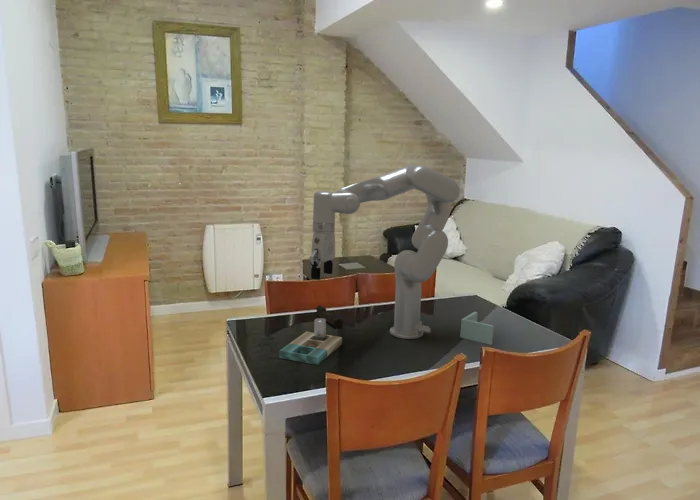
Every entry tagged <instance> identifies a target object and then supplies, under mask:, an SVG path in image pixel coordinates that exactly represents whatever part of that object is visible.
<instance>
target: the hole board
mask: <svg viewBox="0 0 700 500" xmlns="http://www.w3.org/2000/svg"><path fill="white" fill-rule="evenodd" d="M342 345H343V337H341V336H338V335H337V336H336V335H330V334H326V340H325V341H319V340H314V331H313V332H311V331H305V332H304V333H303V334H301V335H300V336H298V337H296V338H295V339H294V340H292V341H291V342H290V343H288V344H286V345H284V347H283V348H281V349H280V350H278V355H279V356H278V357H279V359H282V360H283V359H284V360H290V361H295V362H298V363H299V362H301V363H306V364H310V365H311V364H312V365H316V366H318V365H320V364H321V363H322V362H324V360H325V359H327V358H328V357H329V356H330V355H332V353H334V351H336V350H337V349H339V348H340V346H342Z"/></svg>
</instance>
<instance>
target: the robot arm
mask: <svg viewBox="0 0 700 500" xmlns="http://www.w3.org/2000/svg"><path fill="white" fill-rule="evenodd" d="M412 190H417V191H420V192H422V193H424V194H425V197H426V200H427V208H426V210H425V213H424V215H423V217H422V219H421V220H420V222H419V223H418V226H417V227H416V229H415V230H414V232H413V234H412V236H411V243H412V245H413V247H414V248H415V249H417V251H414V250H412V249H411V250H408V249H406V250H405V249H404V250H402V251H400V252H399V253H398V254H397V255H396V257H395V259H394V263H393V265H394V267H393V268H394V276H395V295H394V315H393V316H394V322H393V326H392V327H390V329H389V334H390V335H391V336H393V337H396V338H398V339H405V340H406V339H408V340H412V339H413V340H414V339H419V338H421V337H423V336H424V333H426V334H431V332H432V331H431V330H432V328H431V327H430V326H428V325H424V324H423V322H422V321H421V306H422V305H421V304H422V303H421V301H422V283H424V282H426V281H428V280H429V279H430V278H431V277H432V276H433V274H435V273H434V272H435V271H436V270H437V268H438V266H439V264H440V262H441V261H442V260H443V258H444V255H445V254H446V252H447V250H448V245H449V238H448V236H447V234H446V233H445V231H444V228H445V226H446V224H447V222H448V221H449V218H450V212H451V210H450V209H451V208H450V204H451V203H453V202H455V201H456V200H458V198H459V197H460V193H461V187H460V185H459V184H458V181H456V180H455V179H453V178H451V177H449V176H446V175H444V174H443V173H441V172H439V171H436V170H435V169H434V168H433V169H432V168H431V167H428V166H426V165H421V164H409V165H405V166H402V167H400V168H397V169H395V170H392V171H390V172H386V173H385V174H382V175H379V176H376V177H372V178H370V179H366V180H363V181H359V182H356V183H353V184H350V185H347V186H344V187H342V188H340V189H337V190H336V191H334V192H333V191H330V190H329V191H328V190H318V191H315V193H314V195H313V212H312V213H313V214H312V215H313V216H312V232H313V235H312V241H311V242H312V243H311V254H310V256H309V260H310V262H309V264H310V269H311V270H310V279H312V280H319V281H320V279H321V269H322V268H321V264H322V263H323V274H329V275H332V274H333V266H334V259H335V258H336V233H335V230H336V226H335V225H336V213H338V214H343V215H351V214H354V213H356V212H357V211H358V210H359V209H360V207H361V204H363V203H365V202H372V201H373V202H374V201H387V200H389V199H392V198H394V197H396V196H399V195H401V194H405V193H406V192H409V191H412Z"/></svg>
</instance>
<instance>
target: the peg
mask: <svg viewBox="0 0 700 500" xmlns="http://www.w3.org/2000/svg"><path fill="white" fill-rule="evenodd" d="M326 322H327V321H326V319H324V318H319V317H317V318H314V323H313V324H314V327H313V328H314V329H313V330H314V331H313V333H314V340H319V341H325V340H326V335H327V334H326V332H327V331H326V330H327V323H326Z"/></svg>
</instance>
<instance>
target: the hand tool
mask: <svg viewBox="0 0 700 500" xmlns="http://www.w3.org/2000/svg"><path fill="white" fill-rule="evenodd" d="M315 309H316V315H317V317H318V316H319V317H320V318H324V319H326V322H327V323H329V324H330V325H331V326H333V328H334V329H341V328H342V327H343V324H344V320H343V319H342V318H338V316H336V315H334V314H332V313H331V312H329V311H327V308H326V307H324V306H322V305H321V304H320V305H318V306H316V308H315ZM319 317H318V318H319Z"/></svg>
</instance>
